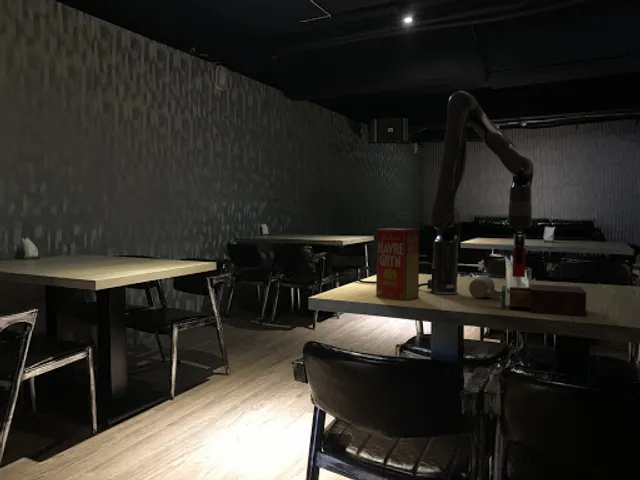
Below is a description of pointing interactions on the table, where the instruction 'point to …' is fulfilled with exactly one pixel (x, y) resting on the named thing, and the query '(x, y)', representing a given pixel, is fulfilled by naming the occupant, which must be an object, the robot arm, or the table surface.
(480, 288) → the ceramic mug
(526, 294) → the drawer
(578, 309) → the cabinet
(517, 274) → the block
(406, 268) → the food packaging
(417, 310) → the table surface
